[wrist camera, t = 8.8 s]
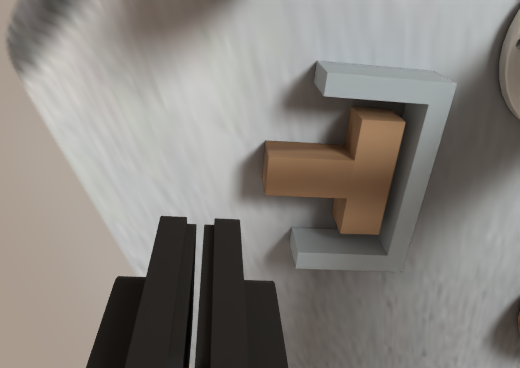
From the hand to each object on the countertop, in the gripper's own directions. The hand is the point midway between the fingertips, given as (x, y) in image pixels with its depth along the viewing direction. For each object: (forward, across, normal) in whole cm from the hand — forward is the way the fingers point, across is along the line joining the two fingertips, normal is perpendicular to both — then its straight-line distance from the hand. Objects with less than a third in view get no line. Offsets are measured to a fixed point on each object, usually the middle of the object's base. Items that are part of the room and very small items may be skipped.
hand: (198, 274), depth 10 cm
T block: (+23, -9, +7) cm, 26 cm away
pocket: (+23, -11, +7) cm, 27 cm away
